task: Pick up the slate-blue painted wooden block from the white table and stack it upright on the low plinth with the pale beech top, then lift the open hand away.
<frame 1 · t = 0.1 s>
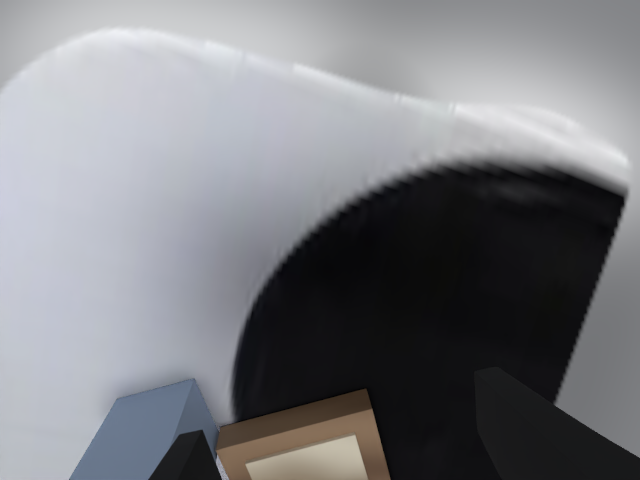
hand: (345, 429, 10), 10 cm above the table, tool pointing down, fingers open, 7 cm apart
plinth: (312, 461, 23), on the table
block: (171, 418, 21), on the table
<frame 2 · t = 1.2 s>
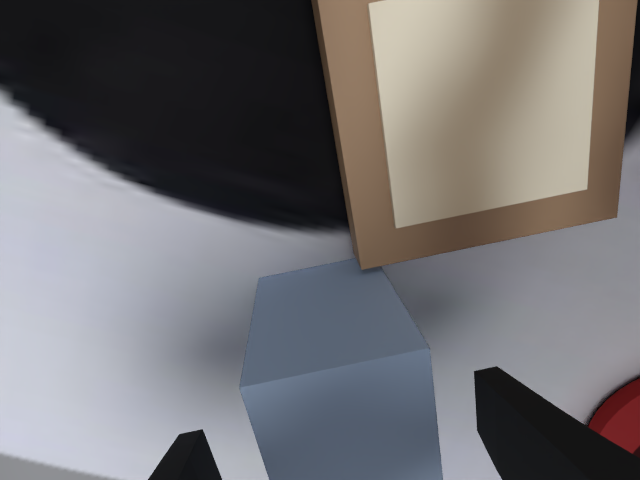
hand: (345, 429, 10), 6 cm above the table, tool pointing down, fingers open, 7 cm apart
plinth: (462, 107, 13), on the table
block: (326, 315, 15), on the table
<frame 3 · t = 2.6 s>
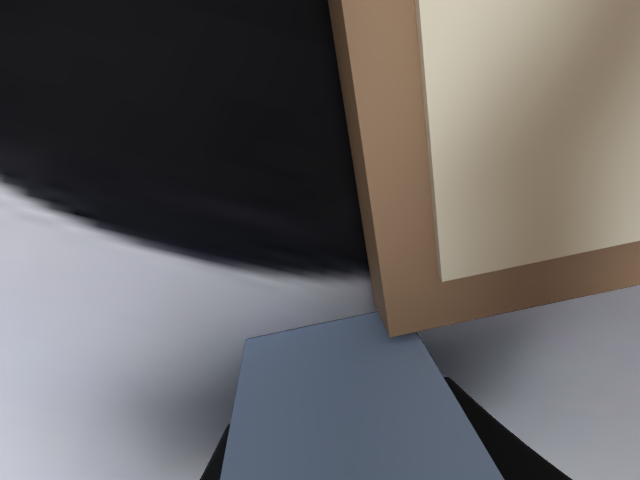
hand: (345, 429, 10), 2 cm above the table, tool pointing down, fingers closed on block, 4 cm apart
plinth: (531, 106, 9), on the table
block: (337, 385, 11), on the table, touching gripper
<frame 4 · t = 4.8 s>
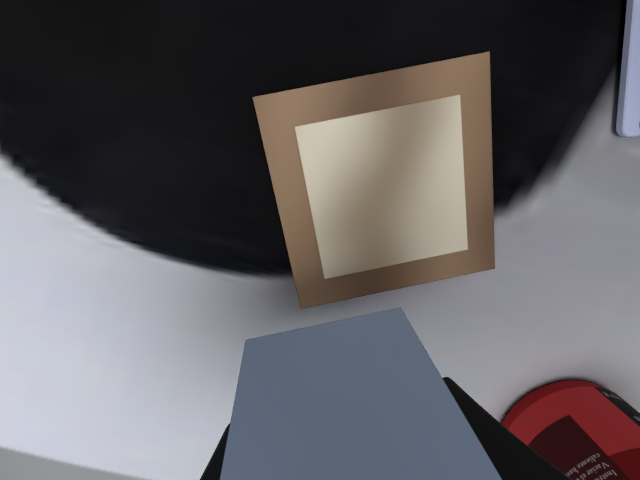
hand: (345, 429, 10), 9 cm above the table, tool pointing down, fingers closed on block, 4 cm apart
canned food: (553, 424, 23), on the table
plinth: (377, 185, 17), on the table
block: (336, 386, 11), point 7 cm above the table, touching gripper
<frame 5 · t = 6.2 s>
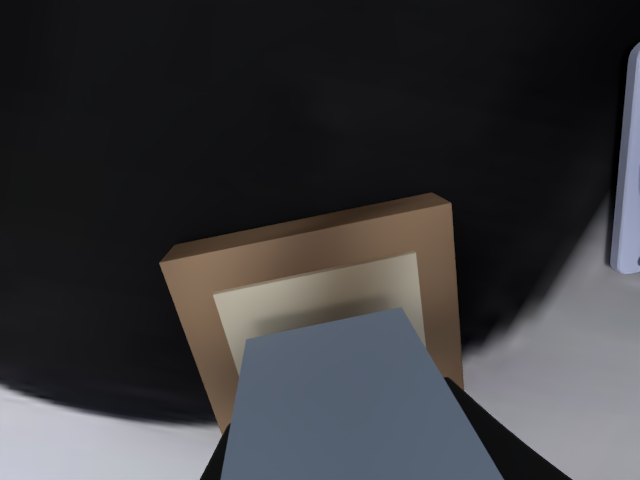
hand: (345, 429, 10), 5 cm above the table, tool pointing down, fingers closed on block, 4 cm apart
plinth: (327, 329, 14), on the table
block: (337, 385, 11), point 3 cm above the table, touching gripper
when the fingers open (5 cm above the table, at t = 7.4 s): block drops 1 cm, resting on plinth.
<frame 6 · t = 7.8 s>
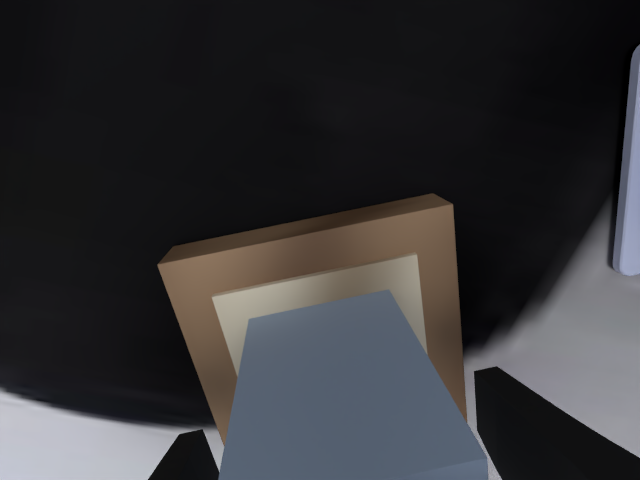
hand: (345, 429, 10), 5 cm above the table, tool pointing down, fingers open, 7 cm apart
plinth: (327, 331, 14), on the table
block: (331, 362, 12), point 2 cm above the table, touching plinth
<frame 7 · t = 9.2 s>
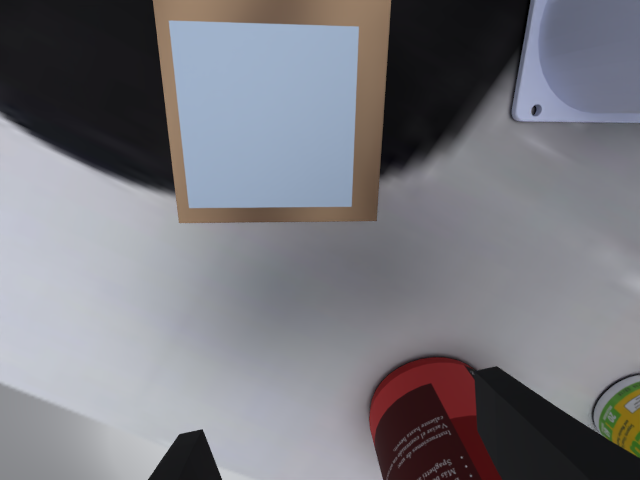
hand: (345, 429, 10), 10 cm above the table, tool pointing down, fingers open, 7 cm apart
canned food: (427, 401, 23), on the table
supplement bottle: (626, 402, 25), on the table
plinth: (278, 118, 17), on the table
block: (276, 119, 15), point 2 cm above the table, touching plinth
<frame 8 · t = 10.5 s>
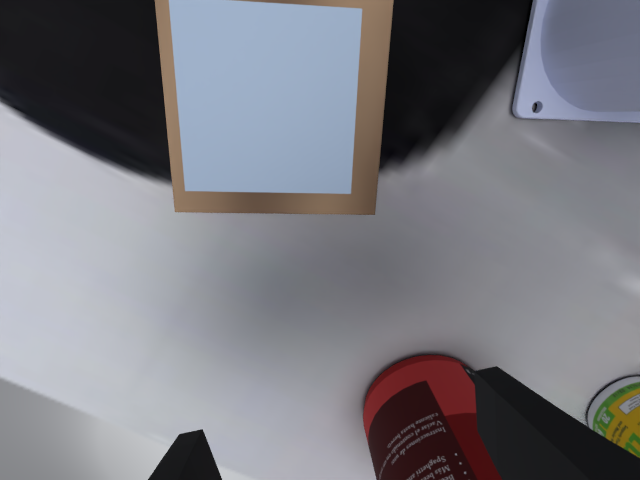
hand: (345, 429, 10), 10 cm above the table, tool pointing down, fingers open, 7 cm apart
canned food: (421, 399, 23), on the table
supplement bottle: (620, 404, 25), on the table
plinth: (278, 108, 17), on the table
block: (275, 108, 15), point 2 cm above the table, touching plinth
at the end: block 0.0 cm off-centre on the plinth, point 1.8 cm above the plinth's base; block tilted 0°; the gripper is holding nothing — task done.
